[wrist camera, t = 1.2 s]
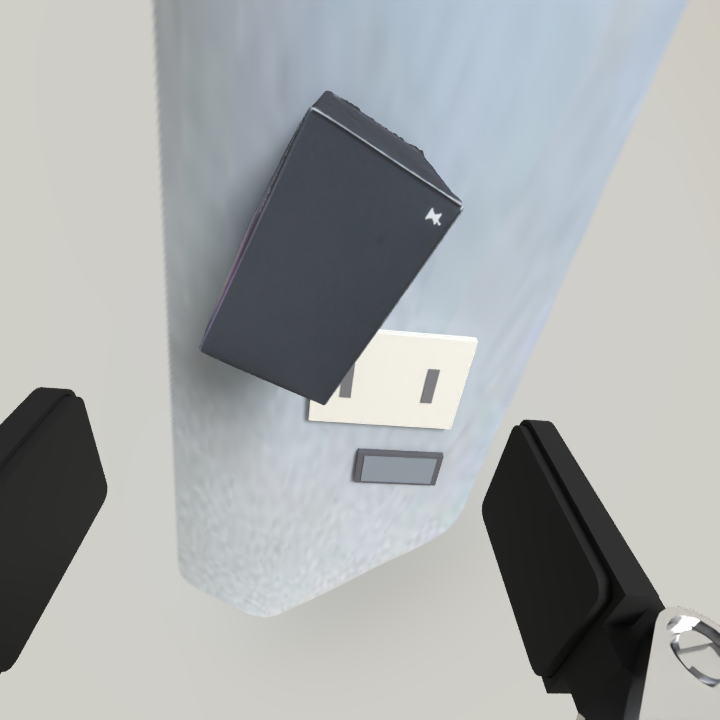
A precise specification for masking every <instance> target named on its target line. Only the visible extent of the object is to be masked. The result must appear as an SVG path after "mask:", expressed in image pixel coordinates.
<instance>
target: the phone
mask: <svg viewBox="0 0 720 720" xmlns="http://www.w3.org/2000/svg"><path fill="white" fill-rule="evenodd" d="M442 460H443V453H438V452H418V451H398V450H379V449H358V455H357V462H356V469H355V476H354V482H363V483H387V484H411V485H435V483H436V480H437V477H438V473H439V470H440V467H441V463H442Z"/></svg>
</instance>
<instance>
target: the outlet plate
mask: <svg viewBox="0 0 720 720" xmlns="http://www.w3.org/2000/svg"><path fill="white" fill-rule="evenodd" d="M477 344H478V341H477V339H476V337H465V336H453V335H442V334H430V333H418V332H406V331H394V330H383V329H379V330H378V332H377V333H376V335H375V336H374V337H373V339H372V340H371V341H370V343H369V344H368V346H367V347H366V349H365V350H364V351H363V353H362V354H361V356H360V357H359V358H358V360H357V361H356V363H355V364H354V365H353V367H352V368H351V370H350V371H349V373H348V374H347V375H346V377H345V378H344V380H343V381H342V382H341V384H340V385H339V387H338V388H337V390H336V391H335V392H334V394H333V395H332V396H331V398H330V399H329V401H328V402H327V404H326V405H321V404H319V403H317V402H315V401H312V400H310V409H309V420H311V421H327V422H343V423H359V424H374V425H390V426H406V427H422V428H437V429H451V427H452V424H453V421H454V417H455V414H456V411H457V408H458V405H459V401H460V398H461V395H462V392H463V389H464V385H465V382H466V379H467V376H468V373H469V369H470V366H471V363H472V360H473V357H474V353H475V350H476V347H477Z"/></svg>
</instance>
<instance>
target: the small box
mask: <svg viewBox="0 0 720 720" xmlns="http://www.w3.org/2000/svg"><path fill="white" fill-rule="evenodd" d="M462 211H463V203H462V201H461V200H460V199H459V198H458V197H457V196H455V195H454V194H453V193H452V192H451V190H450V189H449V188H448V187H447V185H446V184H445V183H444V181H443V180H442V179H441V177H440V176H439V175H438V174H437V172H436V171H435V169H434V168H433V167H432V166H431V164H430V163H429V162H428V161H427V160H426V158H425V157H424V153H423V151H422V150H419V149H418V148H417V147H416V146H413V145H411V144H408V143H406V142H405V141H404V140H403V138H401V137H398V136H397V135H396V134H395V133H392V132H390V131H388V130H387V128H384V127H382V126H381V125H380V124H378V123H377V122H375V121H374V119H372V118H370V117H368V116H366V115H365V114H364V113H362V112H361V111H360V109H359V108H358V107H356V106H354V105H353V104H351V103H349V102H348V101H346V100H344V99H342V98H340V97H338V96H336V95H335V94H333V93H332V92H330V91H325V92H324V94H323V95H322V96H321V97H320V98H319V100H318V101H317V102H316V103H315V104H314V105H313V106H312V107H310V108H309V110H308V111H307V113H306V115H305V117H304V118H303V120H302V121H301V123H300V125H299V127H298V128H297V130H296V132H295V134H294V136H293V138H292V140H291V141H290V143H289V145H288V147H287V149H286V151H285V153H284V155H283V157H282V159H281V161H280V163H279V165H278V167H277V169H276V171H275V173H274V175H273V177H272V179H271V181H270V183H269V185H268V187H267V189H266V191H265V193H264V195H263V197H262V199H261V202H260V204H259V206H258V208H257V210H256V212H255V214H254V216H253V218H252V220H251V222H250V225H249V227H248V229H247V232H246V234H245V237H244V239H243V241H242V244H241V246H240V249H239V251H238V253H237V255H236V258H235V260H234V262H233V265H232V267H231V269H230V272H229V274H228V277H227V279H226V281H225V284H224V286H223V288H222V291H221V293H220V296H219V298H218V300H217V303H216V305H215V308H214V310H213V313H212V316H211V318H210V321H209V323H208V326H207V328H206V331H205V334H204V337H203V339H202V342H201V344H200V347H199V349H200V351H201V352H203V353H205V354H207V355H209V356H211V357H213V358H215V359H218V360H220V361H222V362H224V363H227V364H229V365H231V366H233V367H235V368H238V369H241V370H243V371H245V372H247V373H250V374H252V375H254V376H256V377H258V378H261V379H263V380H266V381H268V382H271V383H273V384H275V385H277V386H280V387H282V388H284V389H287V390H289V391H291V392H294V393H296V394H298V395H301V396H303V397H305V398H308V399H310V400H312V401H315V402H317V403H319V404H321V405H326V404H327V402H328V401H329V399H330V398H331V396H332V395H333V394H334V392H335V391H336V390H337V388H338V387H339V385H340V384H341V382H342V381H343V380H344V378H345V377H346V375H347V374H348V373H349V371H350V370H351V368H352V367H353V365H354V364H355V363H356V361H357V360H358V358H359V357H360V356H361V354H362V353H363V351H364V350H365V349H366V347H367V346H368V344H369V343H370V341H371V340H372V339H373V337H374V336H375V335H376V333H377V332H378V330H379V329H380V328H381V326H382V325H383V323H384V322H385V320H386V319H387V318H388V316H389V315H390V313H391V312H392V310H393V309H394V308H395V306H396V305H397V303H398V302H399V300H400V299H401V297H402V296H403V294H404V293H405V292H406V290H407V289H408V288H409V286H410V285H411V284H412V282H413V281H414V279H415V278H416V276H417V275H418V273H419V272H420V271H421V269H422V268H423V267H424V265H425V264H426V262H427V261H428V260H429V258H430V257H431V255H432V254H433V252H434V251H435V249H436V248H437V247H438V245H439V244H440V242H441V241H442V240H443V238H444V236H445V235H446V234H447V232H448V231H449V229H450V228H451V226H452V225H453V224H454V222H455V221H456V219H457V218H458V217H459V215H460V214H461V212H462Z"/></svg>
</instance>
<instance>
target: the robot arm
mask: <svg viewBox="0 0 720 720" xmlns="http://www.w3.org/2000/svg"><path fill="white" fill-rule="evenodd" d="M106 494H107V482H106V479H105V475H104V472H103V468H102V465H101V461H100V458H99V454H98V450H97V447H96V443H95V440H94V436H93V433H92V429H91V425H90V422H89V418H88V415H87V411H86V408H85V404H84V401H83V399H82V398H80V397H76V395H75V393H74V392H73V391H72V390H70V389H58V388H43V387H40V388H37V389H35V390H34V391H33V392H32V393H31V394H30V395H29V396H28V397H27V398H26V399H25V400H24V401H23V402H22V403H21V404H20V405H19V406H18V407H17V408H16V409H15V410H14V411H13V412H12V414H10V415H9V416H8V417H7V418H6V419H5V421H4V422H3V423H2V424H1V425H0V673H1V672H5V671H7V670H8V669H10V668H11V667H12V666H13V664H14V663H15V662H16V660H17V659H18V657H19V655H20V653H21V651H22V650H23V648H24V646H25V644H26V642H27V640H28V639H29V637H30V635H31V633H32V631H33V629H34V628H35V626H36V624H37V622H38V621H39V619H40V617H41V615H42V613H43V612H44V610H45V608H46V606H47V604H48V603H49V601H50V599H51V597H52V595H53V593H54V591H55V590H56V588H57V586H58V584H59V582H60V581H61V579H62V577H63V575H64V573H65V572H66V570H67V568H68V566H69V564H70V563H71V561H72V559H73V557H74V555H75V553H76V552H77V550H78V548H79V546H80V545H81V543H82V541H83V539H84V537H85V535H86V534H87V532H88V530H89V528H90V526H91V524H92V523H93V521H94V519H95V517H96V516H97V514H98V512H99V510H100V508H101V506H102V504H103V503H104V500H105V498H106ZM482 515H483V520H484V522H485V525H486V529H487V532H488V535H489V538H490V541H491V544H492V547H493V550H494V554H495V556H496V560H497V563H498V566H499V569H500V572H501V575H502V578H503V581H504V584H505V587H506V590H507V594H508V597H509V599H510V603H511V606H512V609H513V612H514V615H515V618H516V621H517V624H518V627H519V630H520V633H521V636H522V640H523V643H524V646H525V649H526V652H527V655H528V658H529V661H530V664H531V667H532V669H533V671H534V672H535V674H536V675H538V676H542V679H543V682H544V685H545V688H546V691H547V693H570V694H572V697H573V699H574V702H575V705H576V708H577V710H578V716H577V720H720V625H718V624H717V623H715V622H714V621H713V620H711V619H710V618H708V617H706V616H704V615H702V614H700V613H698V612H696V611H694V610H691V609H687V608H683V607H668V608H665V607H664V605H663V603H662V602H661V600H660V599H659V595H658V594H657V592H656V590H655V589H654V587H653V586H652V584H651V582H650V581H649V579H648V577H647V576H646V574H645V573H644V571H643V569H642V568H641V566H640V564H639V563H638V561H637V559H636V558H635V556H634V554H633V553H632V551H631V550H630V548H629V546H628V545H627V543H626V541H625V540H624V538H623V537H622V535H621V533H620V532H619V530H618V528H617V527H616V525H615V524H614V522H613V520H612V519H611V517H610V516H609V514H608V512H607V511H606V509H605V508H604V506H603V504H602V502H601V501H600V499H599V498H598V496H597V495H596V493H595V491H594V489H593V488H592V486H591V485H590V483H589V481H588V480H587V478H586V476H585V475H584V473H583V471H582V470H581V468H580V467H579V465H578V463H577V462H576V460H575V459H574V457H573V456H572V454H571V452H570V451H569V449H568V447H567V446H566V444H565V442H564V441H563V439H562V437H561V436H560V434H559V432H558V431H557V429H556V428H555V426H554V425H553V424H552V423H551V422H549V421H538V420H523V421H522V422H521V424H520V425H519V426H514V427H513V429H512V431H511V434H510V436H509V439H508V441H507V444H506V446H505V449H504V451H503V454H502V456H501V459H500V461H499V464H498V466H497V469H496V471H495V474H494V476H493V479H492V481H491V483H490V486H489V488H488V491H487V493H486V496H485V498H484V501H483V504H482Z"/></svg>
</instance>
